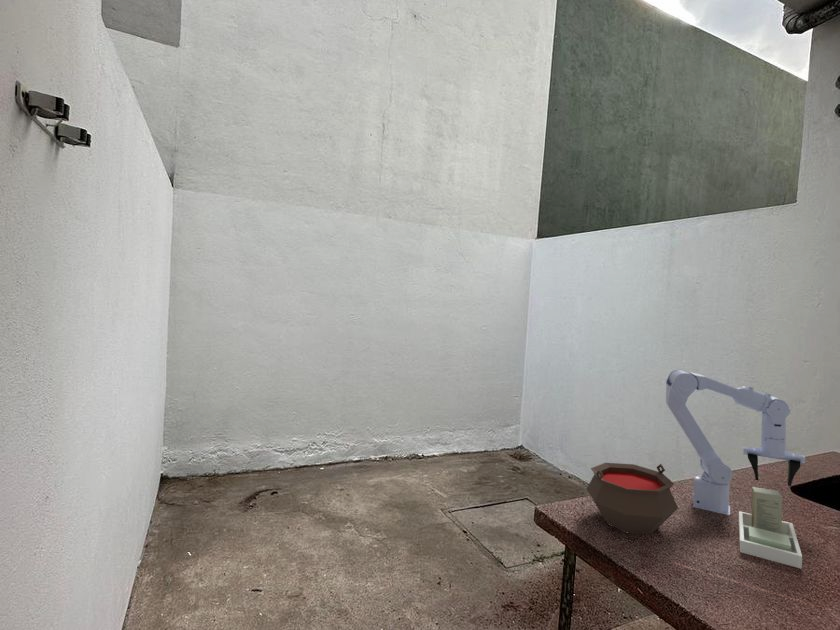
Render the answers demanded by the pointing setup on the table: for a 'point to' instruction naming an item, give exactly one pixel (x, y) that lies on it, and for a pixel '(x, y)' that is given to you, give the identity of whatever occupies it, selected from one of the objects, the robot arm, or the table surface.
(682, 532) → the table surface
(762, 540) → the pale green block
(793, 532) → the white rectangular tray
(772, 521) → the skincare box
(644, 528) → the brown cauldron
